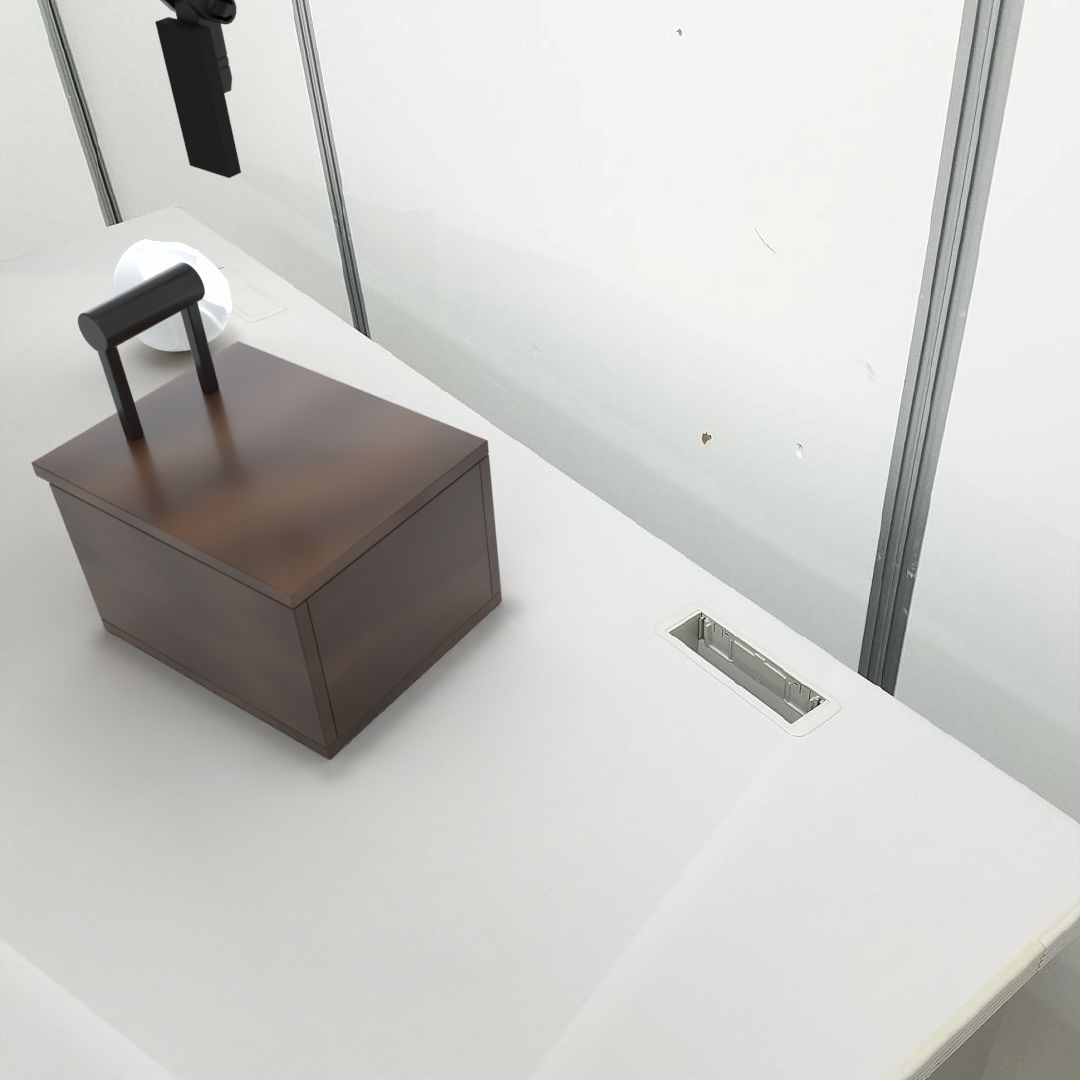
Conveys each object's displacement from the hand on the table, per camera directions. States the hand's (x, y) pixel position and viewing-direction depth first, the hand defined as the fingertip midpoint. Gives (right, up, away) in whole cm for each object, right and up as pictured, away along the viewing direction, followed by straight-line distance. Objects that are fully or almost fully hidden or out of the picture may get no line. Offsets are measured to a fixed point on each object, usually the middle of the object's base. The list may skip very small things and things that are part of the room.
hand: (98, 224), depth 55 cm
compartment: (+6, -17, +13) cm, 23 cm away
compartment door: (+6, -10, +7) cm, 13 cm away
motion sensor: (-7, +1, +35) cm, 36 cm away
